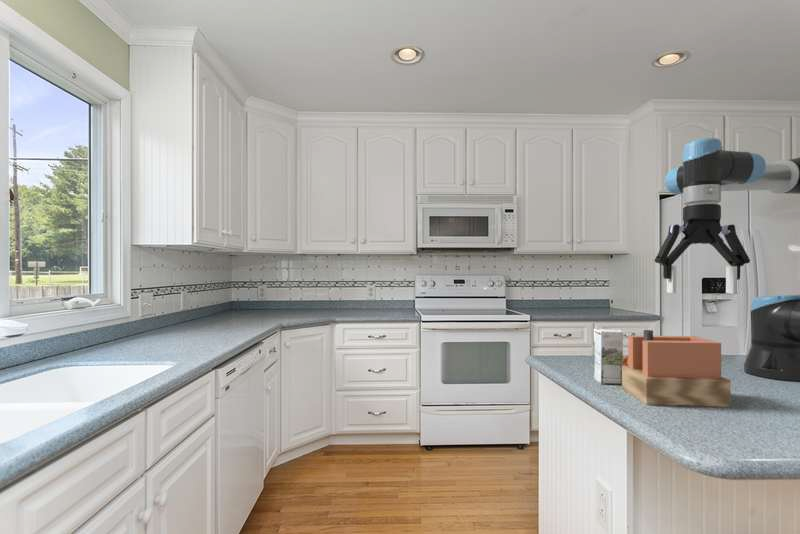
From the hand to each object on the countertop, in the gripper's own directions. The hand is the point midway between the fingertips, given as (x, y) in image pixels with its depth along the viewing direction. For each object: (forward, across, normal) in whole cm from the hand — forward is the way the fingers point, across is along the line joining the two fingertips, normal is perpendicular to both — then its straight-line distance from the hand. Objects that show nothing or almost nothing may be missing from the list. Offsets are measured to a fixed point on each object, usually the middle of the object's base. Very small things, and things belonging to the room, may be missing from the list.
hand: (701, 293), depth 102 cm
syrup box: (+25, -17, +13) cm, 33 cm away
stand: (+25, -6, 0) cm, 26 cm away
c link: (+19, -7, 0) cm, 20 cm away
